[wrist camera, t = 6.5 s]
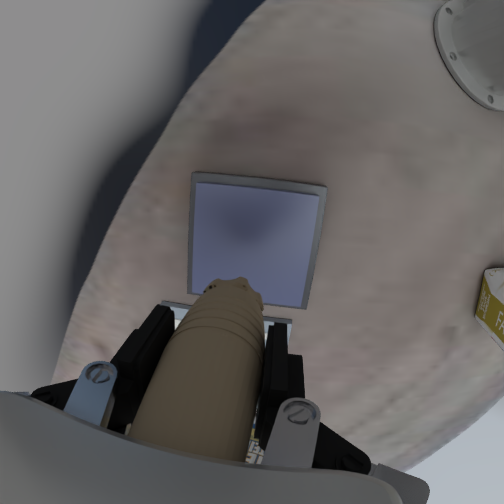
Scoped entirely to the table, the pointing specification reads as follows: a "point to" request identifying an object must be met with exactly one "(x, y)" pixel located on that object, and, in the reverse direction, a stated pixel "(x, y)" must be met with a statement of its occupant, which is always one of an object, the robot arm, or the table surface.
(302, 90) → the table surface
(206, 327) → the handle
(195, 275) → the ink pad
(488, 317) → the juice carton
